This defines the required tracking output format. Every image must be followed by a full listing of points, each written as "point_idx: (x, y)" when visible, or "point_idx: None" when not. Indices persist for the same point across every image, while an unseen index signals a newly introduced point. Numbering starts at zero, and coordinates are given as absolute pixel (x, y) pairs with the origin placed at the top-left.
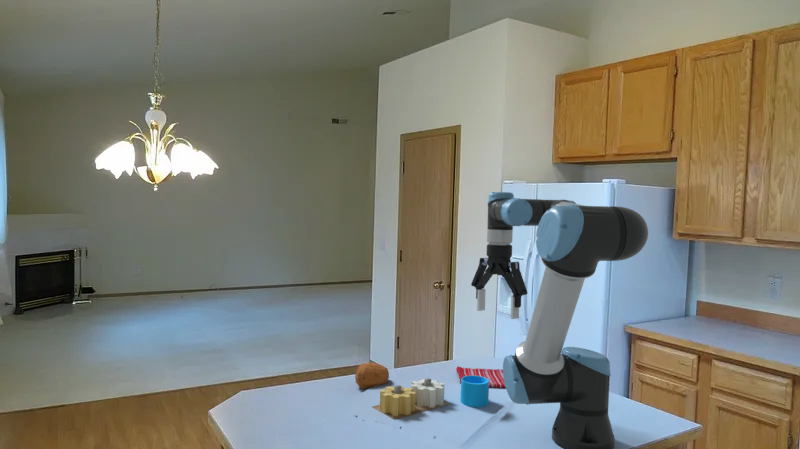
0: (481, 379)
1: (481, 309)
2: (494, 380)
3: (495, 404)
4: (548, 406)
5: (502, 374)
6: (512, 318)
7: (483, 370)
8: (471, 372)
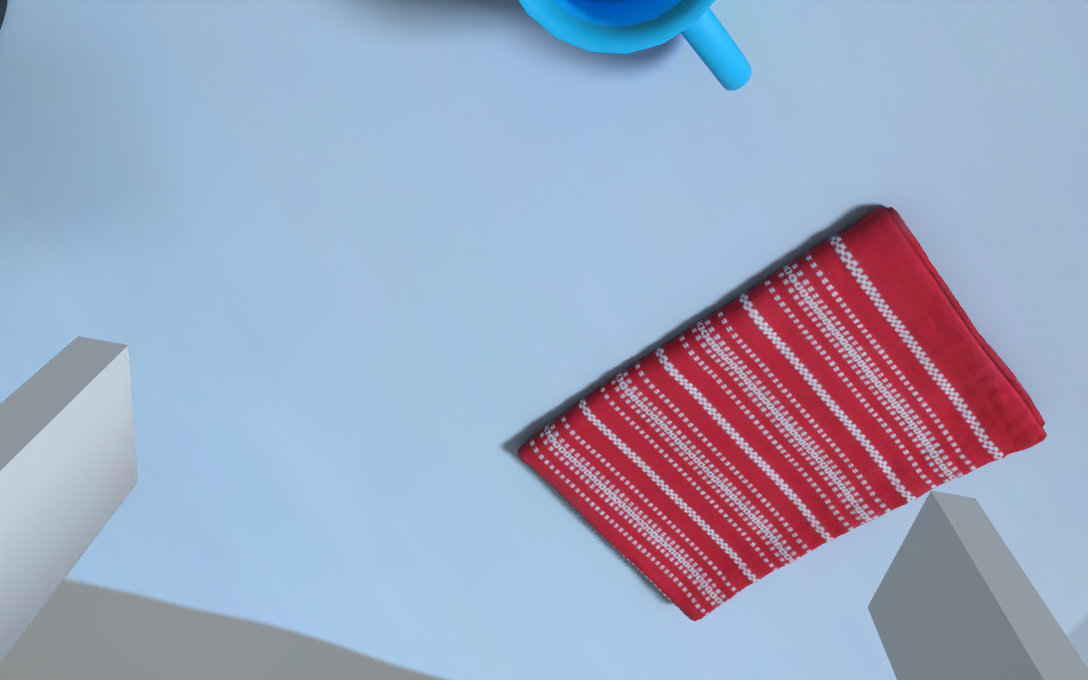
0: (609, 23)
1: (908, 559)
2: (742, 414)
3: (532, 77)
4: (299, 277)
5: (751, 521)
6: (75, 339)
7: (872, 499)
8: (928, 438)
